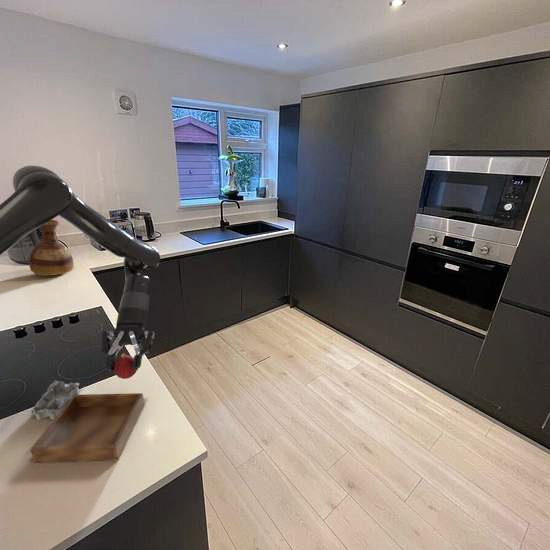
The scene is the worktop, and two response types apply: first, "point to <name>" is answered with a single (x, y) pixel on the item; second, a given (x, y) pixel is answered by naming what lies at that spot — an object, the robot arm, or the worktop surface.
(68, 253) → the ceramic pitcher
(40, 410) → the egg carton
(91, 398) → the wooden tray
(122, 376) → the onion
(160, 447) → the worktop surface
